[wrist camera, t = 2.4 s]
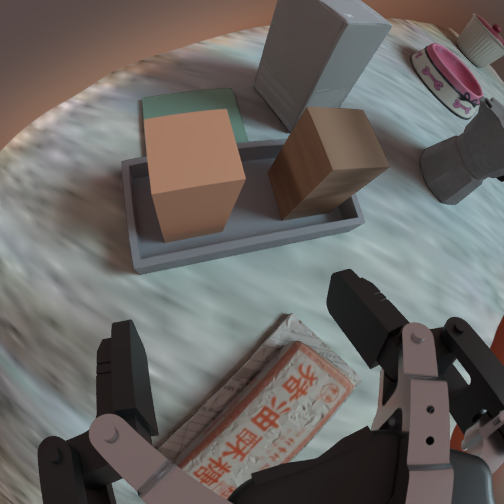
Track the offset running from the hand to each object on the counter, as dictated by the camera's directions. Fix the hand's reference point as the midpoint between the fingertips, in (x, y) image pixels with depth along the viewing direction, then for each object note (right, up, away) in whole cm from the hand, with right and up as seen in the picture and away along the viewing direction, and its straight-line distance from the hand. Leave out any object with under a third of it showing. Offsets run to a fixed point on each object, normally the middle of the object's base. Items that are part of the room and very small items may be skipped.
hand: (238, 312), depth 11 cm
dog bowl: (+42, +38, +33) cm, 65 cm away
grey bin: (0, +7, +15) cm, 17 cm away
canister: (+78, +72, +48) cm, 116 cm away
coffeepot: (+29, +13, +24) cm, 39 cm away
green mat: (-6, +16, +16) cm, 23 cm away
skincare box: (+5, +20, +20) cm, 28 cm away
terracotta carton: (-5, +6, +14) cm, 16 cm away
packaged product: (+1, -13, +12) cm, 17 cm away
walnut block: (+5, +8, +16) cm, 19 cm away
